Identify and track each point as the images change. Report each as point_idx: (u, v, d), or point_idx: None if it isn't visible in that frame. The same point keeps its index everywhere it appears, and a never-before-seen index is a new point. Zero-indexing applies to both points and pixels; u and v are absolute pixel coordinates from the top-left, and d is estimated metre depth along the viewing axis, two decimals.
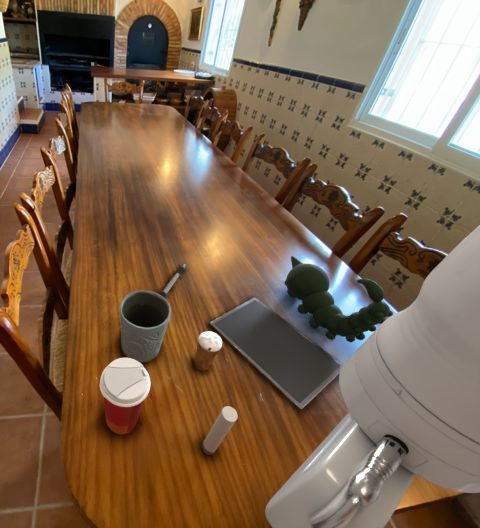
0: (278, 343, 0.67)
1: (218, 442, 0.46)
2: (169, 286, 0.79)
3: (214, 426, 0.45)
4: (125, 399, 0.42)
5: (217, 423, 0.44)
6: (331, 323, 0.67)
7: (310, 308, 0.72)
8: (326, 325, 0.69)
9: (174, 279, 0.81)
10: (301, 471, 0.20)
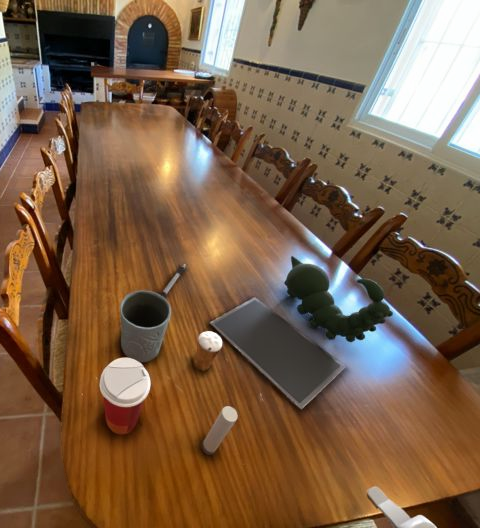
0: (278, 343, 0.67)
1: (218, 442, 0.46)
2: (169, 286, 0.79)
3: (214, 426, 0.45)
4: (125, 399, 0.42)
5: (217, 423, 0.44)
6: (331, 323, 0.67)
7: (310, 308, 0.72)
8: (326, 325, 0.69)
9: (174, 279, 0.81)
10: None
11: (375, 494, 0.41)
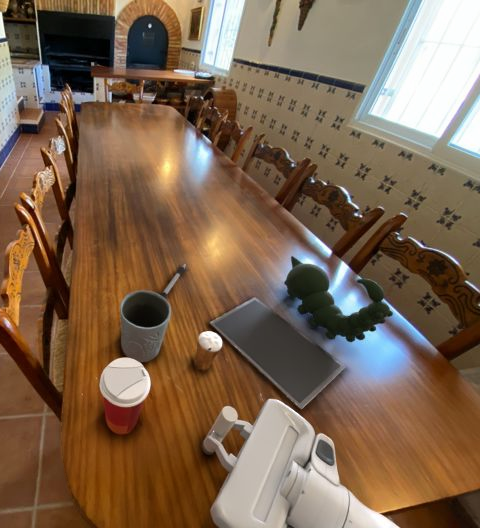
0: (278, 343, 0.67)
1: None
2: (169, 286, 0.79)
3: (214, 426, 0.45)
4: (125, 399, 0.42)
5: (217, 423, 0.44)
6: (331, 323, 0.67)
7: (310, 308, 0.72)
8: (326, 325, 0.69)
9: (174, 279, 0.81)
10: (247, 506, 0.37)
11: (210, 443, 0.44)
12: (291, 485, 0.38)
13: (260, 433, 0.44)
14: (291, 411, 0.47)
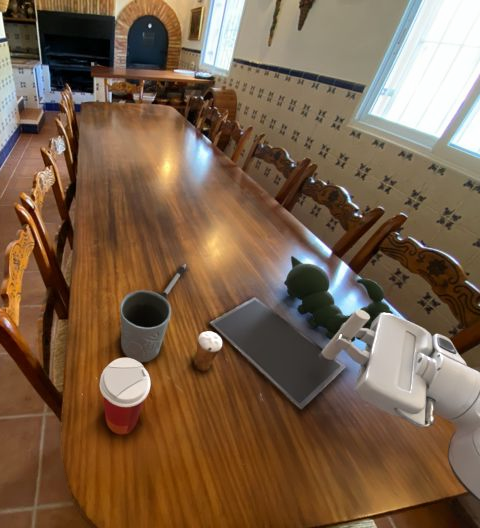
0: (278, 343, 0.67)
1: None
2: (170, 286, 0.79)
3: (342, 330, 0.52)
4: (125, 399, 0.42)
5: (347, 326, 0.51)
6: (331, 323, 0.67)
7: (310, 308, 0.72)
8: (326, 325, 0.69)
9: (175, 279, 0.81)
10: (392, 381, 0.44)
11: (340, 344, 0.52)
12: (425, 366, 0.46)
13: (383, 334, 0.51)
14: (405, 320, 0.54)
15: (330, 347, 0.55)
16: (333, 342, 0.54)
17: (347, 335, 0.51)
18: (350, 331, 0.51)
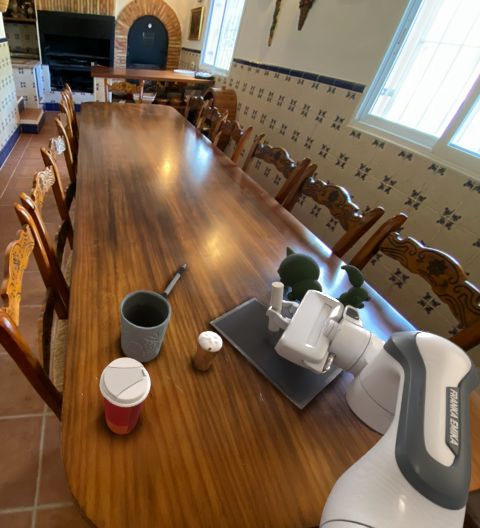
0: None
1: None
2: (170, 287, 0.79)
3: (270, 302, 0.63)
4: (125, 399, 0.42)
5: (271, 297, 0.62)
6: None
7: (298, 295, 0.75)
8: None
9: (175, 279, 0.81)
10: (302, 340, 0.55)
11: (269, 314, 0.63)
12: (330, 329, 0.57)
13: (305, 306, 0.62)
14: (326, 295, 0.65)
15: (270, 319, 0.65)
16: None
17: (274, 305, 0.62)
18: (274, 301, 0.62)
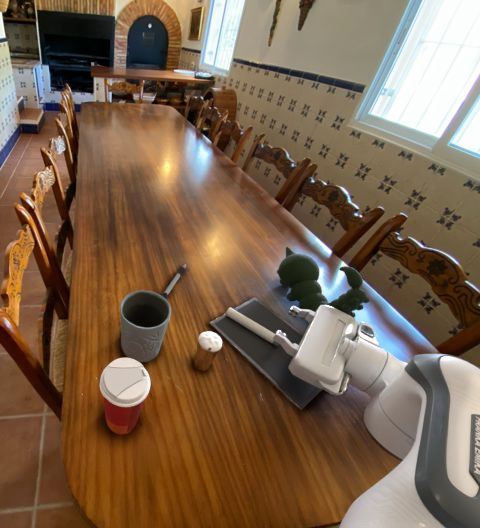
0: None
1: (256, 328, 0.68)
2: (170, 287, 0.79)
3: None
4: (125, 399, 0.42)
5: (236, 321, 0.71)
6: (314, 309, 0.70)
7: (297, 295, 0.75)
8: None
9: (175, 279, 0.81)
10: (317, 359, 0.54)
11: (277, 339, 0.59)
12: (346, 347, 0.55)
13: (318, 322, 0.61)
14: (339, 311, 0.63)
15: (260, 336, 0.68)
16: None
17: (243, 323, 0.69)
18: (238, 321, 0.70)
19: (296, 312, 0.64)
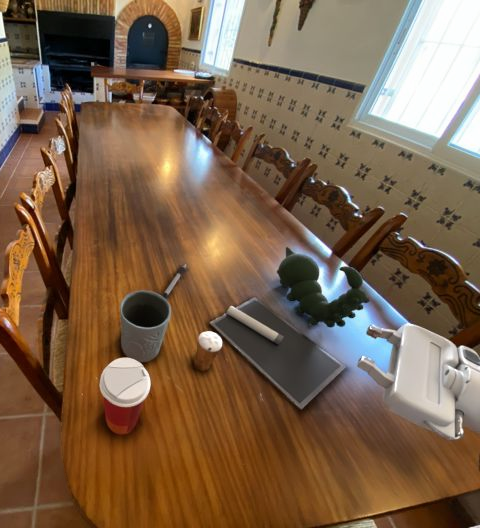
0: None
1: (259, 324, 0.68)
2: (171, 287, 0.79)
3: (243, 322, 0.70)
4: (125, 399, 0.42)
5: (237, 319, 0.71)
6: (314, 309, 0.70)
7: (297, 295, 0.75)
8: (310, 311, 0.72)
9: (175, 280, 0.81)
10: (421, 394, 0.45)
11: (363, 366, 0.50)
12: (453, 379, 0.46)
13: (409, 346, 0.52)
14: (429, 331, 0.54)
15: (262, 333, 0.68)
16: (256, 330, 0.68)
17: (245, 319, 0.69)
18: (241, 317, 0.70)
19: (378, 332, 0.55)
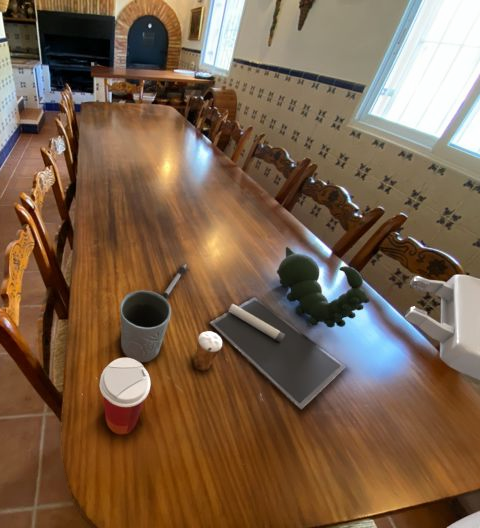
0: (278, 343, 0.67)
1: None
2: (171, 287, 0.79)
3: (246, 318, 0.70)
4: (125, 399, 0.42)
5: (241, 314, 0.71)
6: (314, 309, 0.70)
7: (297, 295, 0.75)
8: (310, 311, 0.72)
9: (175, 280, 0.81)
10: None
11: (413, 318, 0.42)
12: None
13: (465, 296, 0.44)
14: None
15: (265, 328, 0.68)
16: (259, 325, 0.68)
17: (249, 314, 0.70)
18: (245, 312, 0.71)
19: (424, 284, 0.47)
